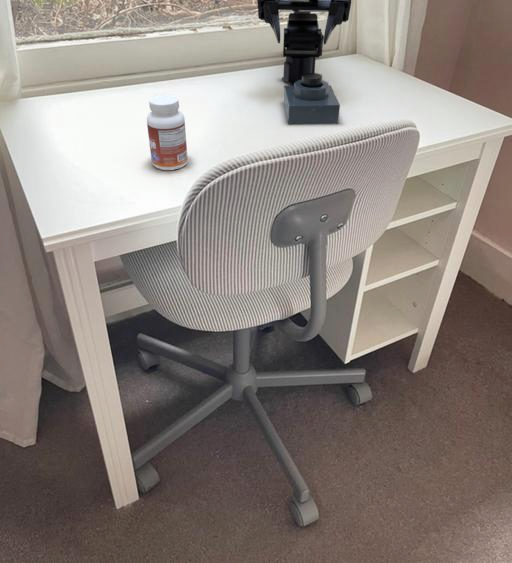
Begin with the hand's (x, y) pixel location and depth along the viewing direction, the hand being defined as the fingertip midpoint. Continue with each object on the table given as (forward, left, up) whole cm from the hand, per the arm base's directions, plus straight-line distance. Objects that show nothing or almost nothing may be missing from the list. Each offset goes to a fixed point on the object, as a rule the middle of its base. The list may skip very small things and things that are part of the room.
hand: (301, 42), depth 107 cm
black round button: (0, +5, -7) cm, 9 cm away
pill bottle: (+34, +16, -13) cm, 40 cm away
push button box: (0, +5, -13) cm, 14 cm away
